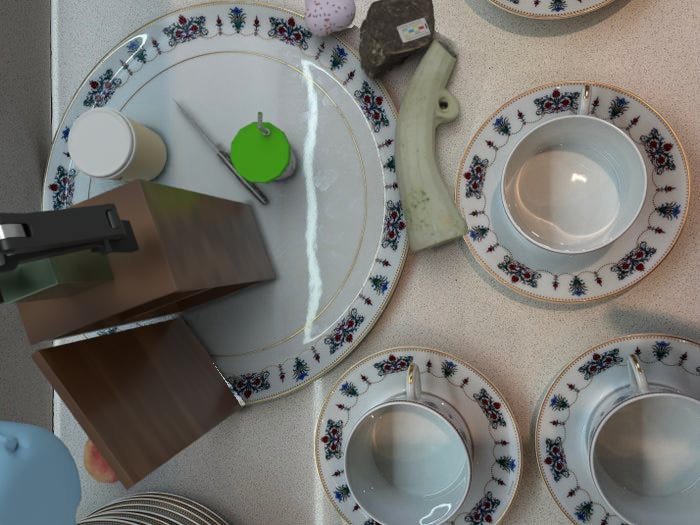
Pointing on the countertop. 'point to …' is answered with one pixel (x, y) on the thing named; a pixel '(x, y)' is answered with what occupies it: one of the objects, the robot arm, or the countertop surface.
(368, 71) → the rock
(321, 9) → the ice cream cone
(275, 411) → the countertop surface
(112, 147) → the coffee cup
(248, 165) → the cup
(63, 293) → the green rectangular block
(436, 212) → the pale green curved piece
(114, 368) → the cupboard door
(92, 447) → the fruit
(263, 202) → the knife
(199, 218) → the cupboard
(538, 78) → the countertop surface
